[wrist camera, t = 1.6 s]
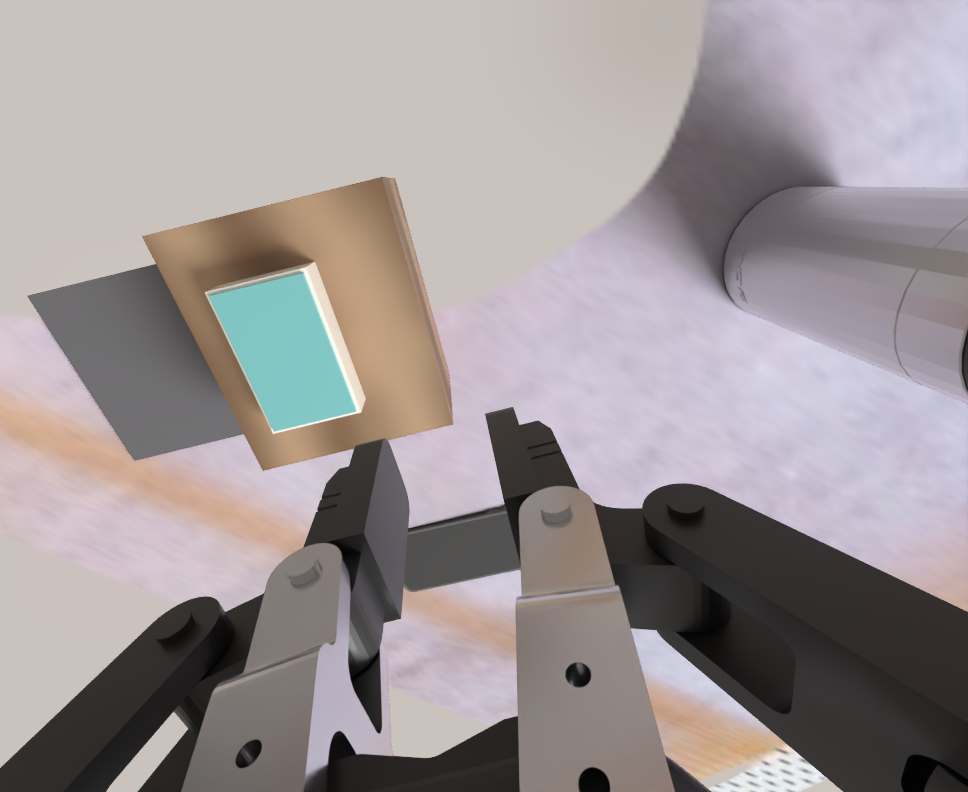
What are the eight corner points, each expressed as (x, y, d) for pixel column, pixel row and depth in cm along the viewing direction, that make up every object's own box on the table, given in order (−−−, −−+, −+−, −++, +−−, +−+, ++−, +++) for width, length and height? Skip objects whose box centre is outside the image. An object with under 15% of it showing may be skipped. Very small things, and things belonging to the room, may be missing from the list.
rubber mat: (223, 247, 31) (221, 248, 30) (300, 418, 36) (298, 420, 36) (32, 294, 31) (27, 296, 30) (137, 458, 36) (134, 460, 36)
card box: (315, 261, 24) (304, 267, 22) (365, 398, 27) (360, 414, 25) (220, 284, 24) (202, 293, 22) (282, 418, 27) (271, 435, 25)
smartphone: (382, 536, 41) (549, 500, 41) (383, 529, 42) (547, 493, 42) (405, 595, 44) (560, 562, 44) (406, 587, 45) (558, 555, 45)
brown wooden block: (395, 178, 30) (382, 177, 23) (449, 375, 36) (453, 424, 28) (213, 223, 30) (142, 236, 23) (297, 412, 36) (262, 470, 29)
